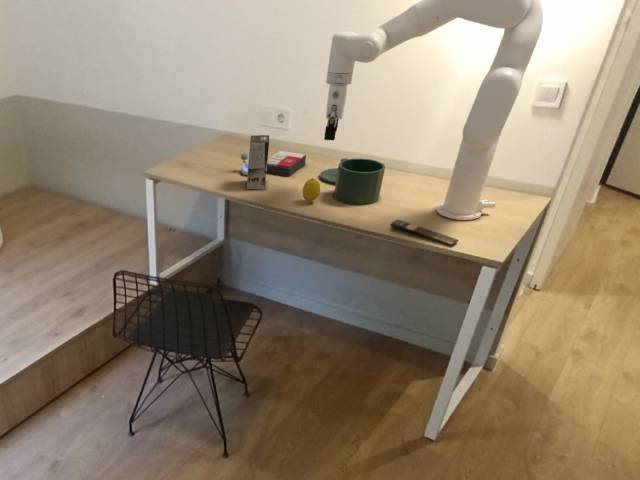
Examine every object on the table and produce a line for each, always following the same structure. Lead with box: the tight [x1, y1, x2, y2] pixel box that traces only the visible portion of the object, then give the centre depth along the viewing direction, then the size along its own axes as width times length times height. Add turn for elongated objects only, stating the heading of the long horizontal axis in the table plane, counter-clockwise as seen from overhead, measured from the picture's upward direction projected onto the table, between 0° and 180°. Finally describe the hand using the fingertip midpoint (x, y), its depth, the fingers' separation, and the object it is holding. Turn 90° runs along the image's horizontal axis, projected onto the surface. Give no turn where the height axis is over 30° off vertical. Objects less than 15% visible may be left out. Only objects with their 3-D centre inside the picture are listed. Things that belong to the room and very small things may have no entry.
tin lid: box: [319, 158, 349, 184], centre depth 219 cm, size 15×15×7 cm
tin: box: [333, 157, 386, 206], centre depth 204 cm, size 14×14×10 cm
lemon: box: [302, 177, 321, 203], centre depth 202 cm, size 6×6×8 cm
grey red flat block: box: [266, 150, 307, 177], centre depth 231 cm, size 11×4×15 cm
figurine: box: [240, 152, 249, 176], centre depth 228 cm, size 8×7×7 cm
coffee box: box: [246, 134, 270, 191], centre depth 215 cm, size 9×6×16 cm
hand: (330, 135), depth 199 cm, fingers open, 9 cm apart
